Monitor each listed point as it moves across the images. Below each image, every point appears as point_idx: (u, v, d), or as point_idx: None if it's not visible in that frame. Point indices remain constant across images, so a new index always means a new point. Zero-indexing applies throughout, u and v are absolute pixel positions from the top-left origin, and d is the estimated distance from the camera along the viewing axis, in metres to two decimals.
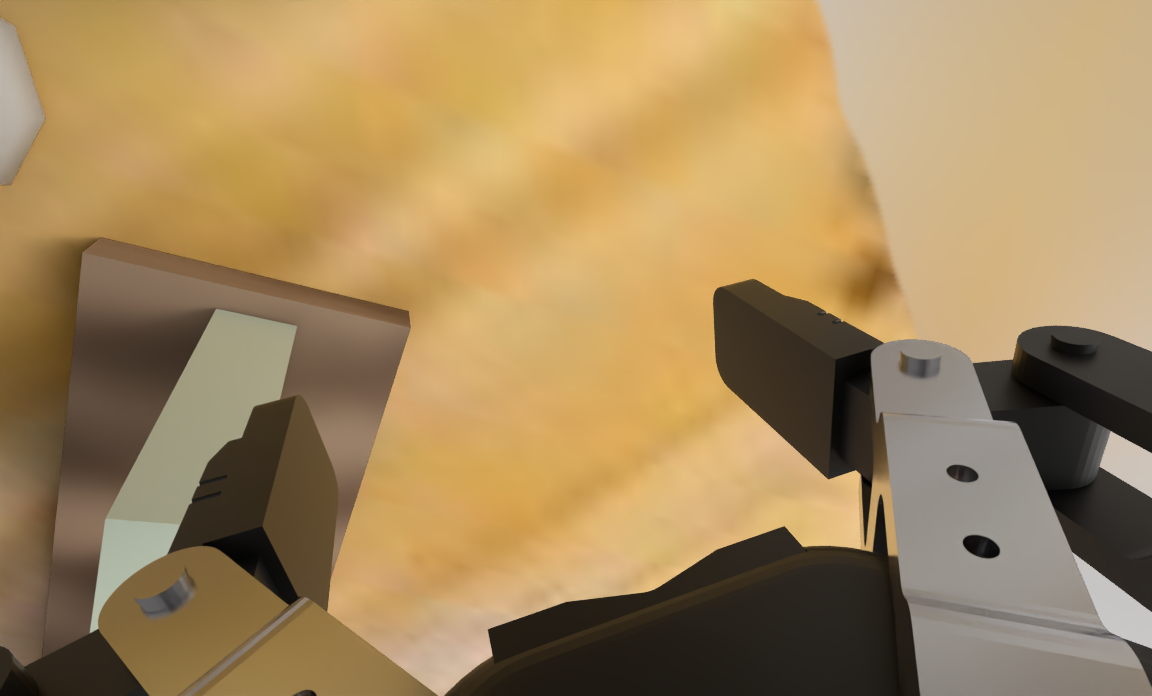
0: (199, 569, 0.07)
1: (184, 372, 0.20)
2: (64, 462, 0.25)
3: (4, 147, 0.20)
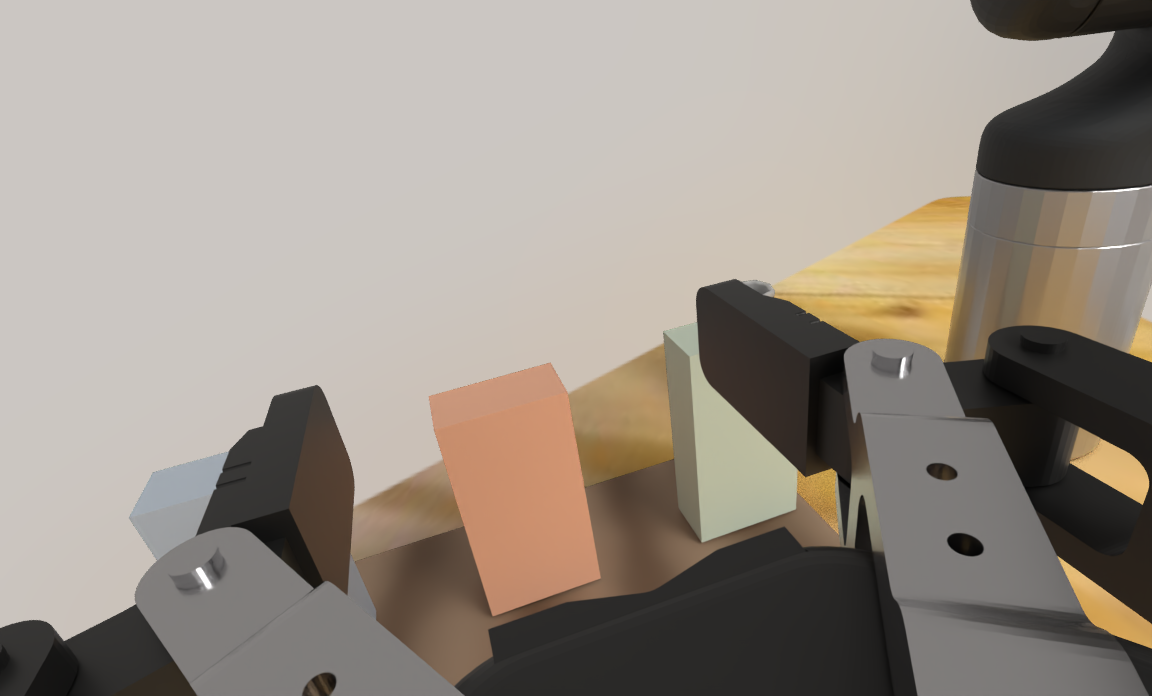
0: (231, 548, 0.07)
1: None
2: (613, 479, 0.40)
3: None
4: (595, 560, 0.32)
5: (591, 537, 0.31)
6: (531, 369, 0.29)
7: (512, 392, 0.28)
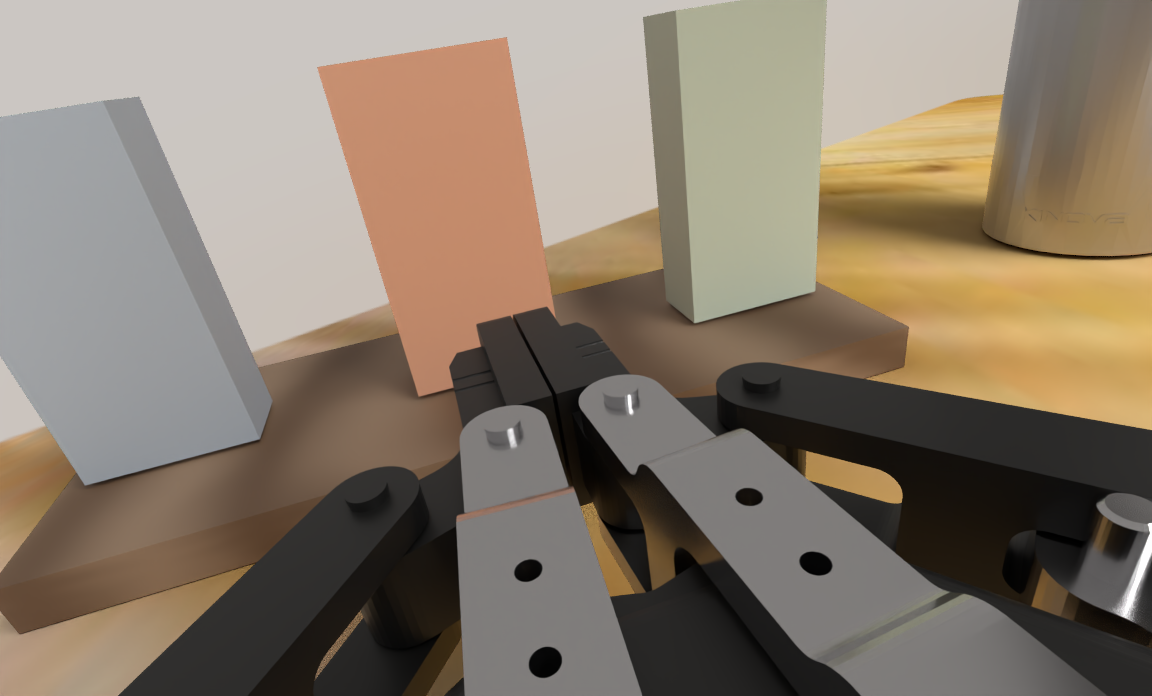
0: (525, 418, 0.08)
1: None
2: (587, 288, 0.32)
3: None
4: None
5: (548, 290, 0.24)
6: None
7: None
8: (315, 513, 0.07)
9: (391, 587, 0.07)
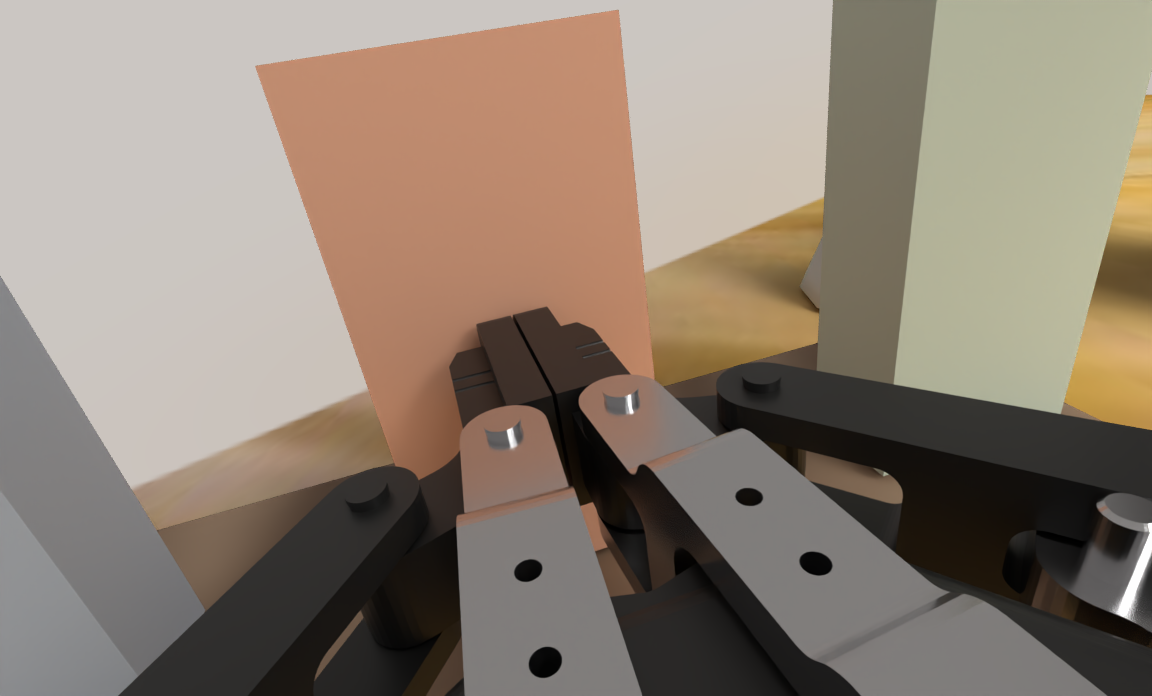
0: (525, 419, 0.08)
1: None
2: (679, 384, 0.22)
3: None
4: None
5: None
6: None
7: None
8: (314, 512, 0.07)
9: (391, 587, 0.07)
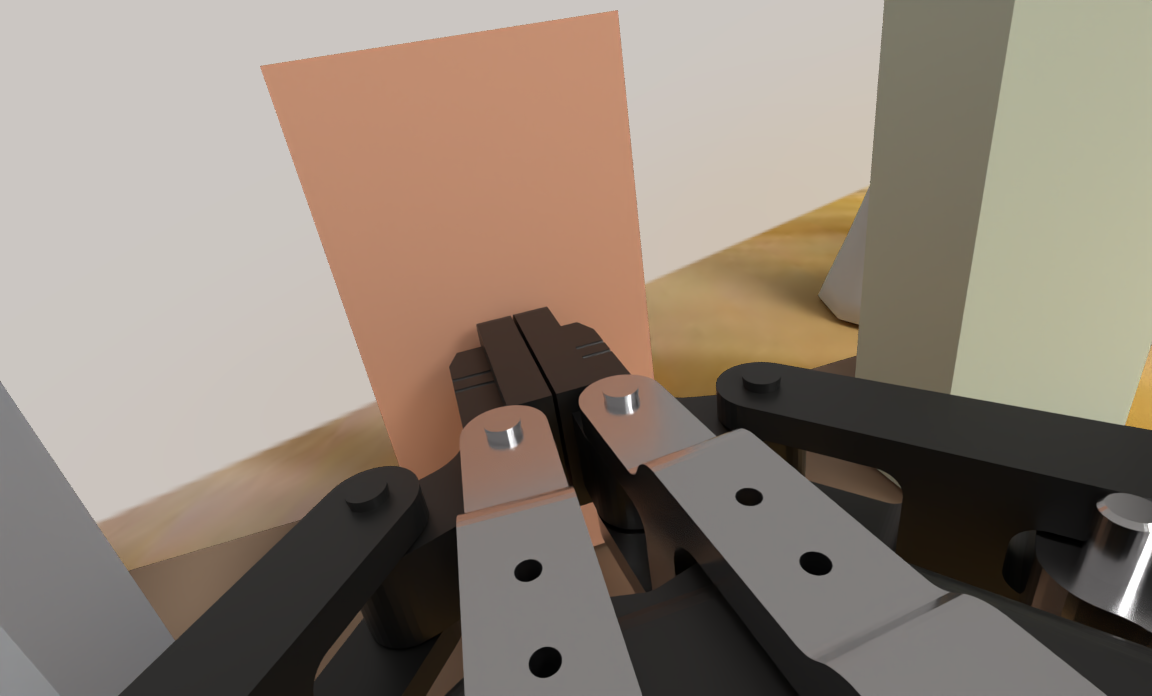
0: (525, 418, 0.08)
1: None
2: None
3: None
4: None
5: None
6: None
7: None
8: (315, 512, 0.07)
9: (391, 587, 0.07)
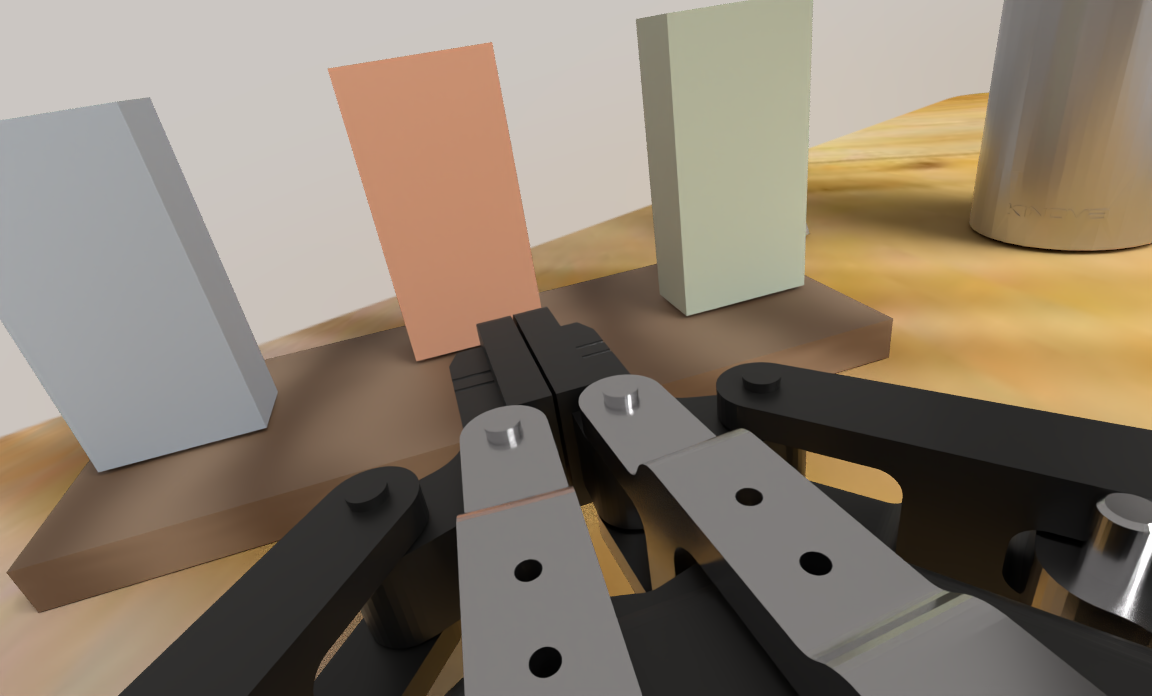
0: (525, 418, 0.08)
1: None
2: (583, 282, 0.33)
3: None
4: (537, 301, 0.27)
5: (531, 266, 0.27)
6: None
7: None
8: (314, 513, 0.07)
9: (391, 587, 0.07)
